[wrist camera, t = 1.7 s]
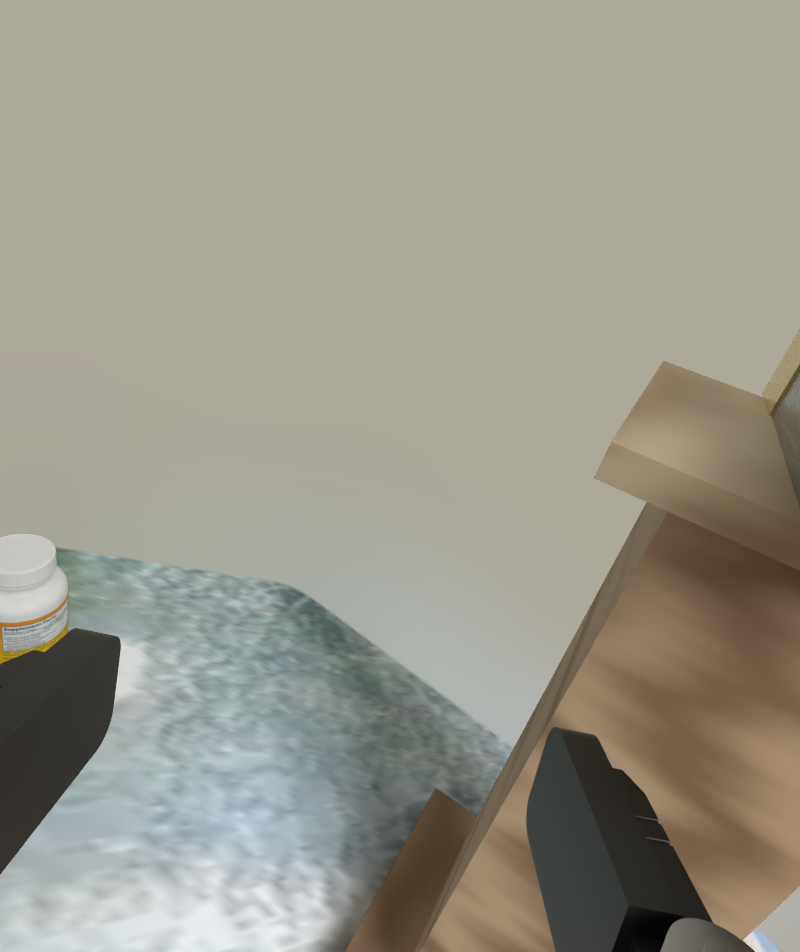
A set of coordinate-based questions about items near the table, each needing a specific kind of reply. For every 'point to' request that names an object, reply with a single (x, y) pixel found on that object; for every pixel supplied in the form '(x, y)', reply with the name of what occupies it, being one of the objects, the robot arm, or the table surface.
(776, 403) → the steel block
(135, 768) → the table surface
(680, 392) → the walnut stand
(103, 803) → the table surface
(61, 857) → the table surface
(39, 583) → the supplement bottle
